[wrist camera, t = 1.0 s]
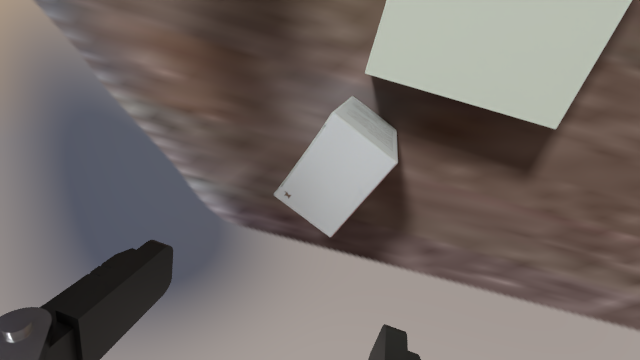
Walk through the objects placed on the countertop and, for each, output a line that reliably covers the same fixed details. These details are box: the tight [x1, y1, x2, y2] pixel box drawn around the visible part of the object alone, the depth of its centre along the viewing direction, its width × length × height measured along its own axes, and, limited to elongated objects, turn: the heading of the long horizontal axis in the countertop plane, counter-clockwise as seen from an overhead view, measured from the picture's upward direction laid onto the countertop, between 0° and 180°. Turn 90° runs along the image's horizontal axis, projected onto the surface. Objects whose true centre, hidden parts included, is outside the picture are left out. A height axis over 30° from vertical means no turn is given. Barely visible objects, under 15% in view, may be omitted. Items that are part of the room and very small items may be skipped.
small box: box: [274, 96, 398, 237], centre depth 27 cm, size 8×6×10 cm
